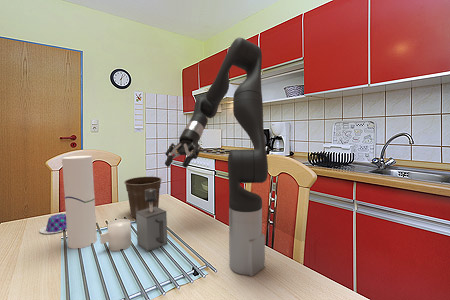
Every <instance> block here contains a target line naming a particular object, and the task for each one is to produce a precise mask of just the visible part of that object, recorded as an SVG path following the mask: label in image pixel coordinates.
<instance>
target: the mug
mask: <svg viewBox="0 0 450 300" xmlns="http://www.w3.org/2000/svg"><path fill="white" fill-rule="evenodd" d="M99 237H100V244H101V245H103V244H106V243H108V250H109V251H111V252H121V251H120V249H123V250H122V251H124V250H126V249H128V248H130V247H131V246H132V229H131V220H130V219H128V218H121V219H115V220H112V221H110V222H108V223H107V231H105V232H103V233H100V234H99Z"/></svg>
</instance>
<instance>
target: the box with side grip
mask: <svg viewBox="0 0 450 300" xmlns="http://www.w3.org/2000/svg"><path fill="white" fill-rule="evenodd" d="M167 216H168V215H167V210H164V209H162V208H160V207H156V206H155V207H153V212H151V213H150V208H148V209H144V210H140V211H137V212H136V218H135V219H136V239H137V240H136V241H137V242H136V243H137V246H138V247H140V248H142V249H143V250H145V251H146V252H147V253H149V252H151V251H154V250H157V249H159V248H161V247H163V246H165V245H167V244H168V223H167V222H168V221H167V219H168V218H167ZM160 246H161V247H160ZM150 250H151V251H150Z"/></svg>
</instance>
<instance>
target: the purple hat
mask: <svg viewBox="0 0 450 300" xmlns="http://www.w3.org/2000/svg"><path fill="white" fill-rule="evenodd" d="M64 229H65V231H67V223H66V213H58V214H57V213H56V214H54V215H52V216H50V217H48V219H47V224H46V225H45V226H43V227H41V228H40V229H39V233H41V234H45V235H46V234H48V235H49V234H50V233H52V234H56V233H60V232H64V231H63V230H64Z"/></svg>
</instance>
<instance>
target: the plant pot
mask: <svg viewBox="0 0 450 300" xmlns="http://www.w3.org/2000/svg"><path fill="white" fill-rule="evenodd" d="M162 180H163V179H162V178H161V177H158V176H139V177H138V176H137V177H133V178H132V177H131V178H129V179H126V180H124V182H123V183H124V184H125V188H126V192H127V197H128V203H129V211H130V216H131V218H135V219H136V212H137V211H140V210H144V209H148V208H150V206H149V202H146V201H145V190H146V189H156V201H152V203H153V207H155V206H156V207H158V208H160V207H159V203H160V189H161V183H162Z"/></svg>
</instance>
